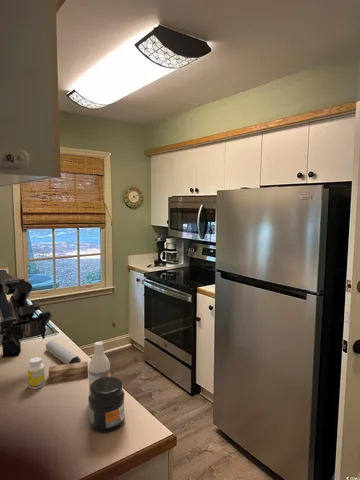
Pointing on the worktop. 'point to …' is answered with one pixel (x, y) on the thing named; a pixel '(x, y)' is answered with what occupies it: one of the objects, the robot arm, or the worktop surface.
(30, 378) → the supplement bottle
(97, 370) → the bath foam
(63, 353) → the tube
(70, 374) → the ridge
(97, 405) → the supplement container
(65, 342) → the worktop surface
